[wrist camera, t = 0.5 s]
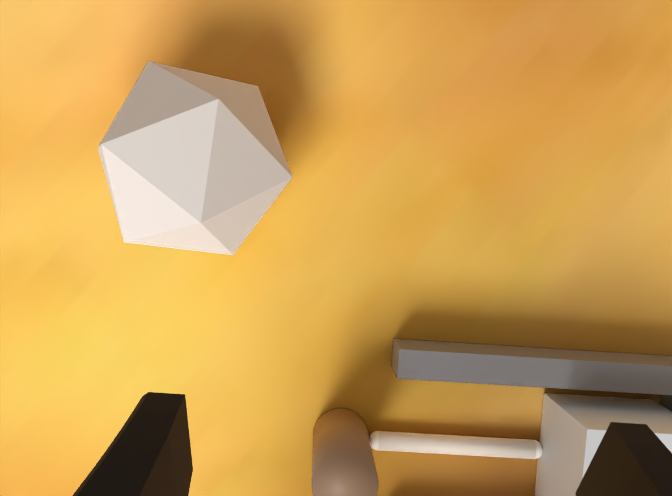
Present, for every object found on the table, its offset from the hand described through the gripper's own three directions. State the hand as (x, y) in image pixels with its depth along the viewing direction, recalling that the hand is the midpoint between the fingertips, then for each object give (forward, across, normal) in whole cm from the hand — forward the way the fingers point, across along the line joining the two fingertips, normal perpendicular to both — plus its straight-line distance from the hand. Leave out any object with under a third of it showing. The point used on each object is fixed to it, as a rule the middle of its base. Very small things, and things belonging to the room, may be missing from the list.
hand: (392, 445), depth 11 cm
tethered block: (+15, -8, +19) cm, 26 cm away
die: (+22, +8, +7) cm, 25 cm away
